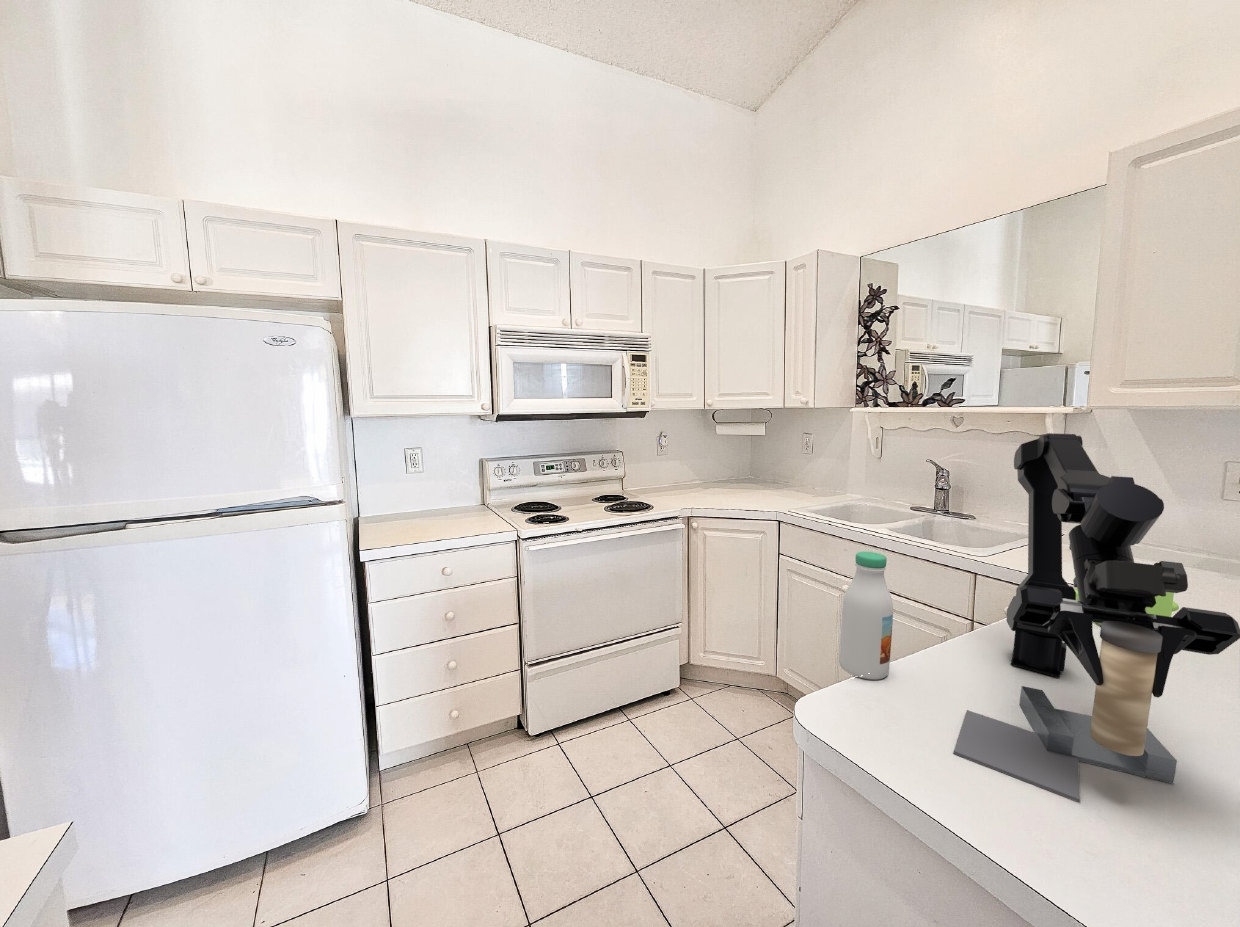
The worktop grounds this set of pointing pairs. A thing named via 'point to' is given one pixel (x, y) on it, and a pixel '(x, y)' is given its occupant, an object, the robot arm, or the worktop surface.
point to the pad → (1017, 754)
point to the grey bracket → (1091, 740)
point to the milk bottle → (867, 620)
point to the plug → (1124, 686)
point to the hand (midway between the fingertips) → (1128, 690)
